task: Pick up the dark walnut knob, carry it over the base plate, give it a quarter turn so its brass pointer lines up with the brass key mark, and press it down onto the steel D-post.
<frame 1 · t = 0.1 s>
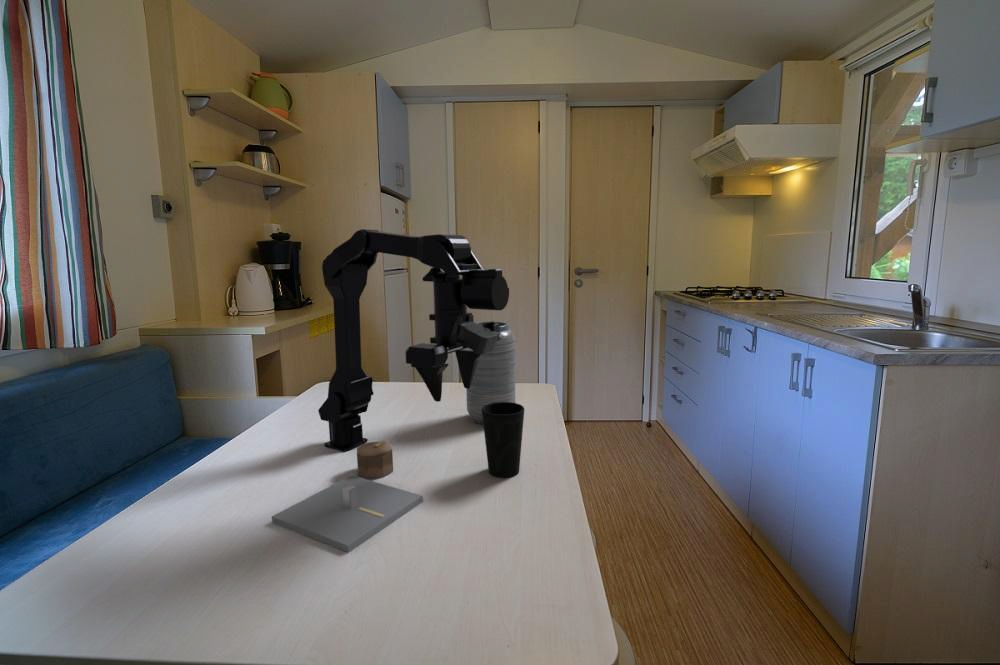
hand: (453, 394, 91), 15 cm above the table, fingers open, 9 cm apart
vase: (491, 419, 122), on the table
base plate: (350, 511, 79), on the table
cup: (503, 472, 93), on the table
knob: (375, 470, 94), on the table
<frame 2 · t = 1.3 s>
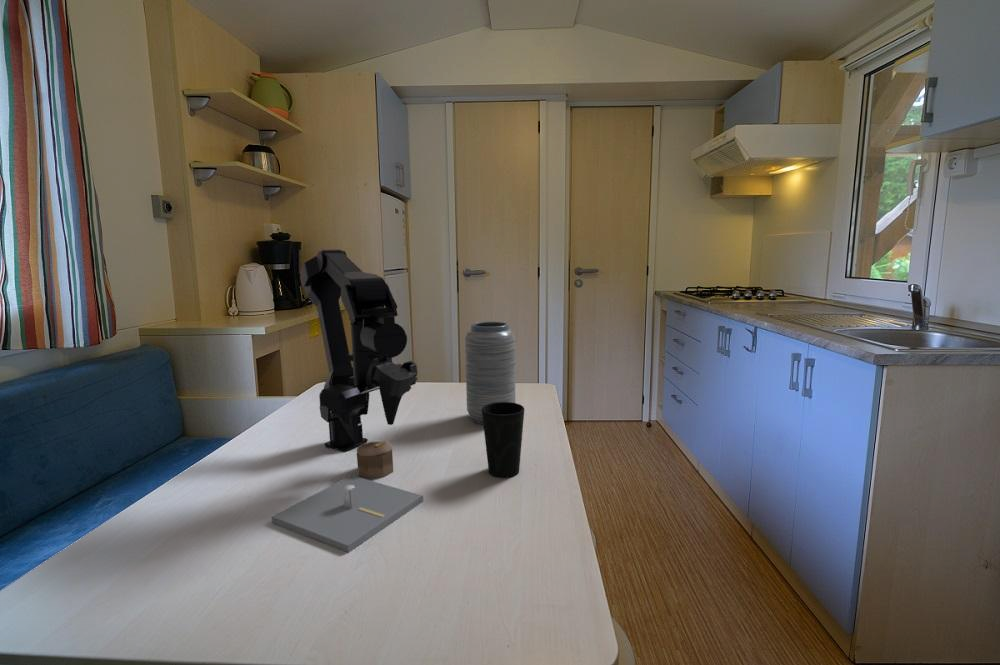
hand: (373, 432, 93), 7 cm above the table, fingers open, 9 cm apart
nothing on the table moved.
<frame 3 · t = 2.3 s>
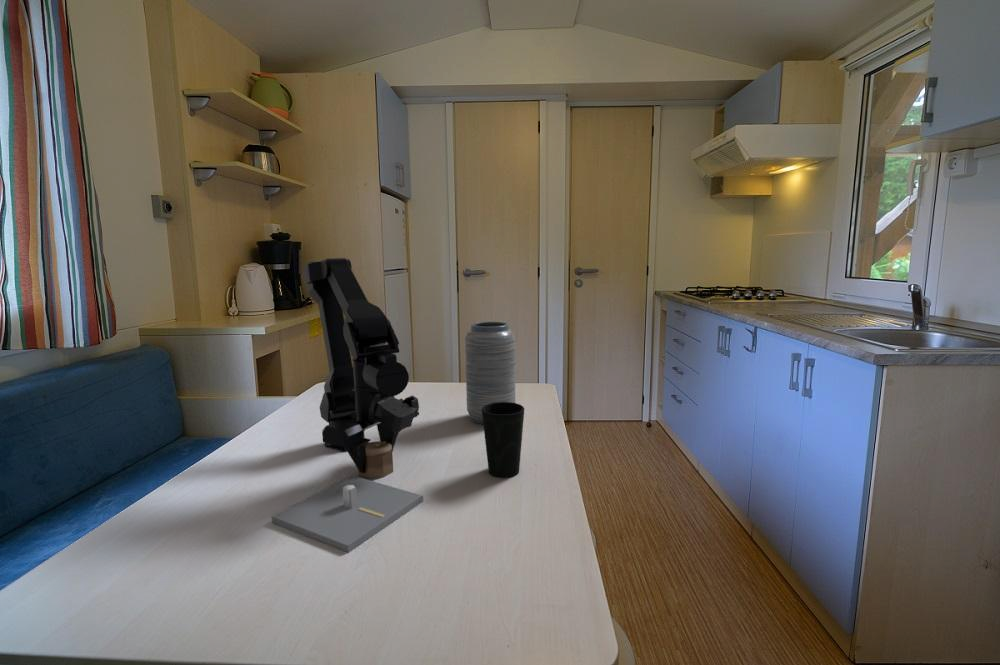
hand: (375, 465, 94), 1 cm above the table, fingers closed on knob, 6 cm apart
knob: (375, 470, 94), on the table, touching gripper
everything else where it was.
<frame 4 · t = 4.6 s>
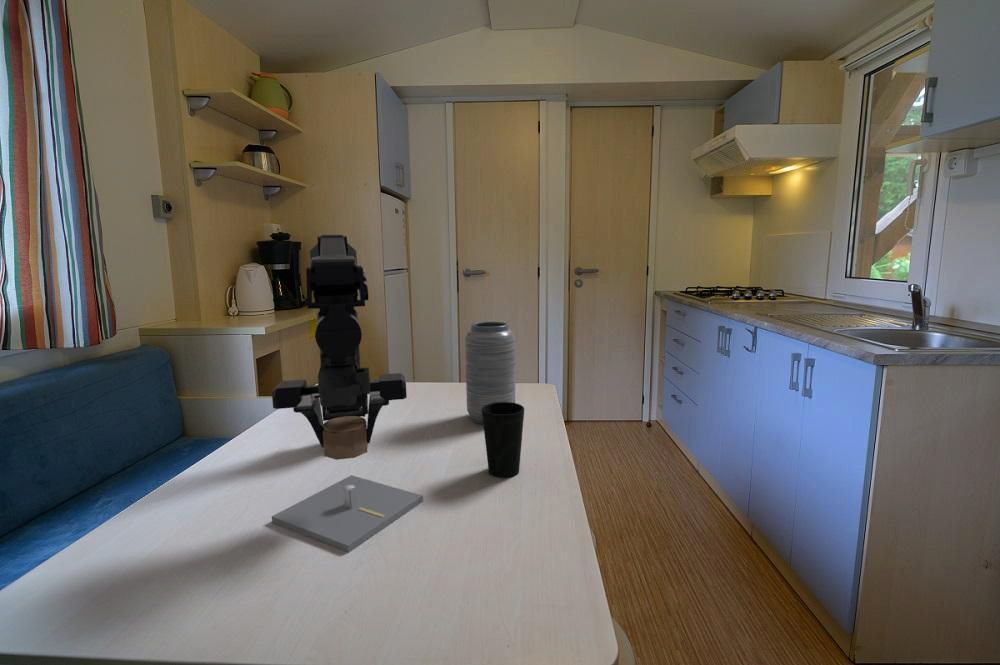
hand: (346, 444, 78), 11 cm above the table, fingers closed on knob, 6 cm apart
knob: (346, 450, 78), point 10 cm above the table, touching gripper
everything else where it was.
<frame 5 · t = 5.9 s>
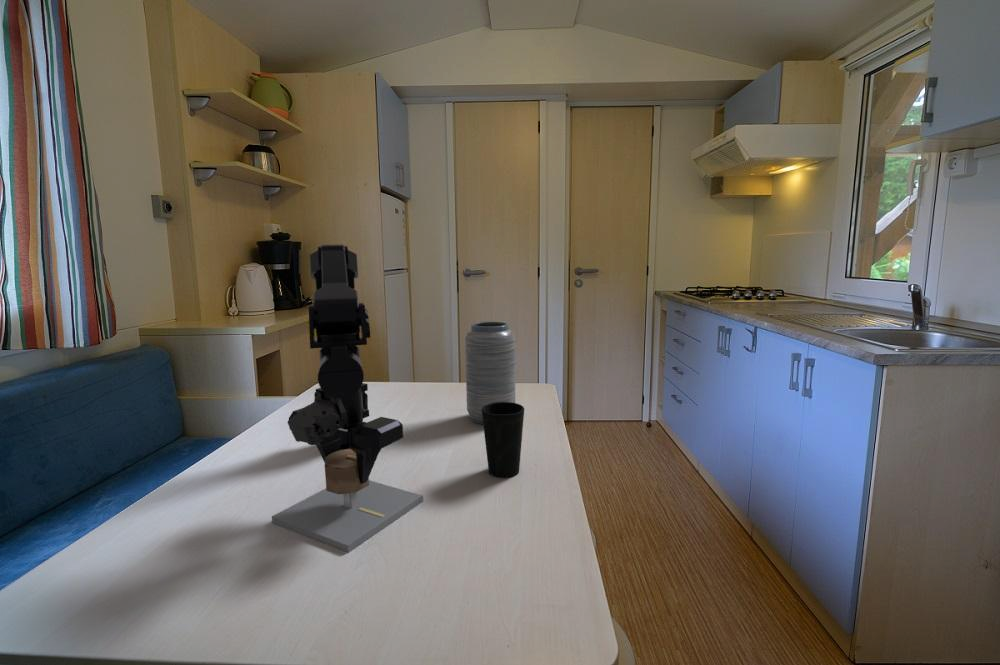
hand: (348, 478, 79), 6 cm above the table, fingers closed on knob, 6 cm apart
knob: (348, 484, 79), point 5 cm above the table, touching gripper
everything else where it was.
when the fingers open (3 cm above the table, at t = 6.9 s): knob stays where it is, resting on base plate.
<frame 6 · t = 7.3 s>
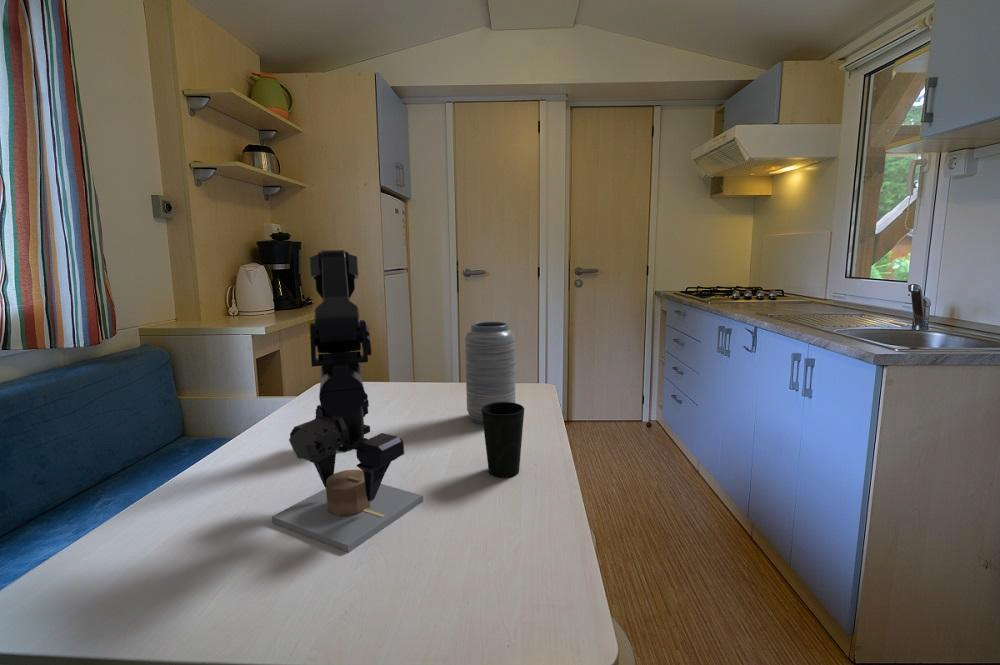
hand: (349, 493, 79), 3 cm above the table, fingers open, 9 cm apart
knob: (349, 505, 79), point 1 cm above the table, touching base plate
everything else where it was.
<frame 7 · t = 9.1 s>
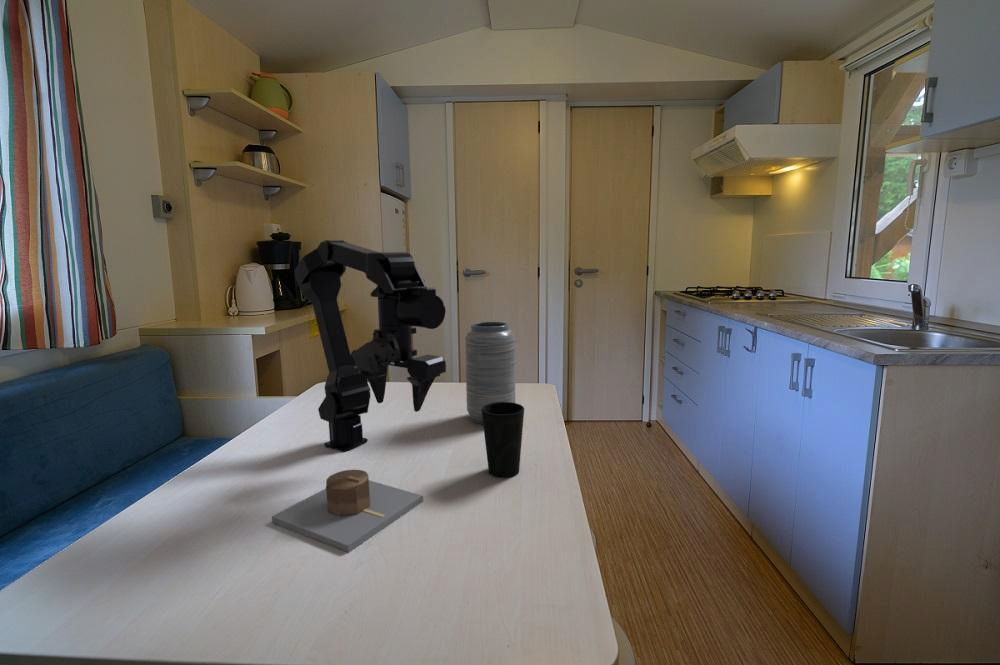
hand: (398, 406, 94), 12 cm above the table, fingers open, 9 cm apart
nothing on the table moved.
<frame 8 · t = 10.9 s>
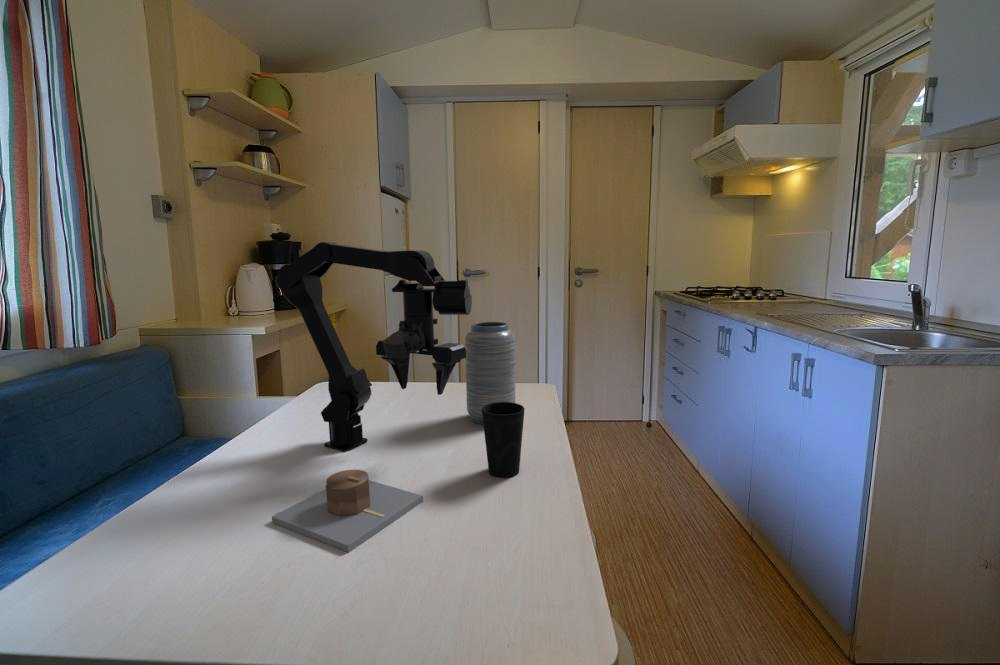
hand: (421, 391, 103), 12 cm above the table, fingers open, 9 cm apart
nothing on the table moved.
at the end: knob 0.0 cm off-centre on the base plate, point 1.1 cm above the base plate's base; knob tilted 1°; the gripper is holding nothing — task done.
